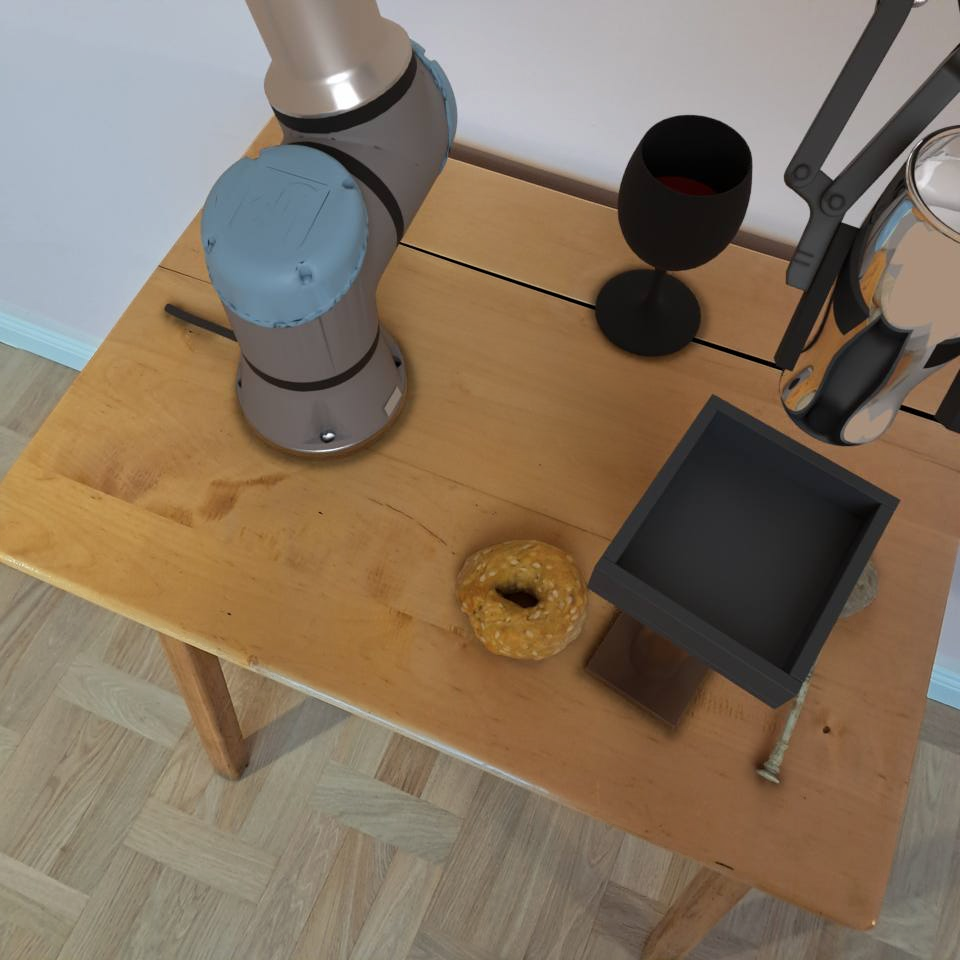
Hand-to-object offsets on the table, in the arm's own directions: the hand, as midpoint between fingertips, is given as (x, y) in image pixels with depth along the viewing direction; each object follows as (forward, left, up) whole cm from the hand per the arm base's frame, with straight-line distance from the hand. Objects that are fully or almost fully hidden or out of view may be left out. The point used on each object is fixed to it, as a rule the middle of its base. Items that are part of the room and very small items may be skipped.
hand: (864, 394), depth 39 cm
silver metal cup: (-1, +3, -6) cm, 7 cm away
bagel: (-12, -6, -35) cm, 38 cm away
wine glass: (-18, +25, -35) cm, 47 cm away
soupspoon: (+9, +4, -35) cm, 37 cm away
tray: (-1, -4, -12) cm, 13 cm away
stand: (-1, -4, -35) cm, 35 cm away
